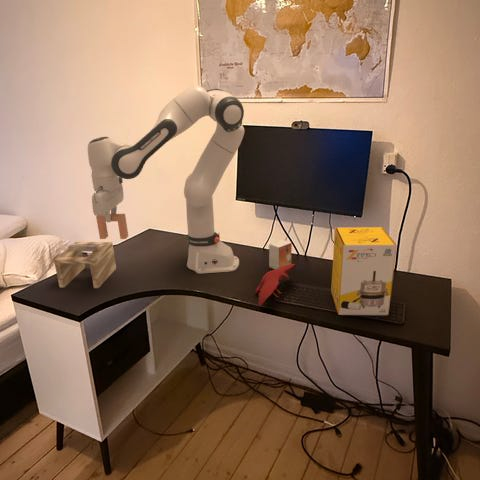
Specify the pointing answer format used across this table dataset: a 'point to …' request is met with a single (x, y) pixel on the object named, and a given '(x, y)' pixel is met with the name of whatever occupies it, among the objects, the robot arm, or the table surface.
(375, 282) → the packaging box
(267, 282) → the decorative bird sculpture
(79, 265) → the wooden stand
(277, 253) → the small box
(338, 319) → the table surface
